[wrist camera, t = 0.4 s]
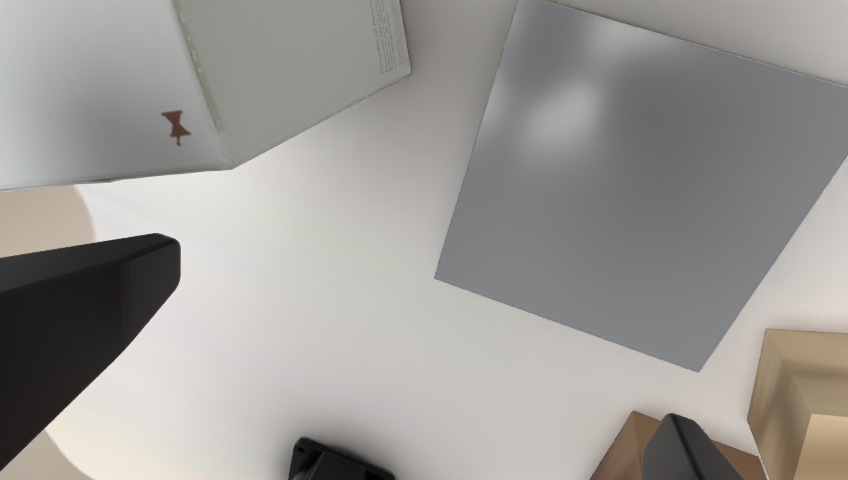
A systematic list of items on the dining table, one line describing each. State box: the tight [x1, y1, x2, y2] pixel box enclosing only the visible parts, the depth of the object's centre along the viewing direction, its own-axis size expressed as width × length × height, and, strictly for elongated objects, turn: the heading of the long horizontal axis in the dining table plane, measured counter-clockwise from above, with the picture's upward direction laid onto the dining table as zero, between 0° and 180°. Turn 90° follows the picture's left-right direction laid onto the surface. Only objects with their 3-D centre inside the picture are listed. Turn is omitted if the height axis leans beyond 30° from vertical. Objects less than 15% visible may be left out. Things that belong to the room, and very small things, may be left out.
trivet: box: [434, 0, 848, 373], centre depth 20 cm, size 12×12×1 cm
